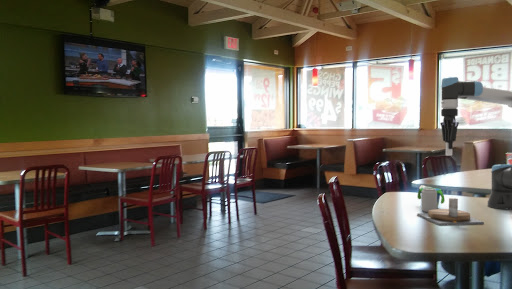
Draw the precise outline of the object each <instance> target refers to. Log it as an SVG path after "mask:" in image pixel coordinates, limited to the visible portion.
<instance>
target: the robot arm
mask: <svg viewBox="0 0 512 289" xmlns="http://www.w3.org/2000/svg"><path fill="white" fill-rule="evenodd" d="M440 87H441V101H440V103H441V105H440V106H441V111H440V112H441V114H440V115H441V117H443V120H442V122H440V123H439V124H440V126H441V136H442V141H443V142H444V143H445V156H447V157H448V156H453V145H454V144H453V143H454V142H456V141H457V134H458V126H459V124H460V122H458V121H456V120H457V119H456V117H458V116H459V110H458V107H459V99H460V100H468V101H474V102H475V101H476V102H482V103H492V104H496V105H497V104H498V105H505V106H507V107H509V108H512V90H505V89H499V88H492V87H484V86H483V83H482V81H476V80H469V81H467V80H465V81H461V80H459V77H457V76H447V77H443V78H442V80H441V86H440ZM490 192H491V193H490V195H489V197H488V200H487V207H489V208H494V209H499V210H500V209H501V210H512V163H511V164H494V165H492V166H491V191H490Z"/></svg>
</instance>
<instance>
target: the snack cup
mask: <svg viewBox="0 0 512 289" xmlns="http://www.w3.org/2000/svg"><path fill="white" fill-rule="evenodd" d="M427 187H428V186H426V188H427ZM433 188H434V189H436V191H437V208H439V204H444V203H445V202H446V201H445V195H444V193H443V191H442V189H441V188H437V187H433ZM422 190H423V188H421V189H419V190H418V191H417V200H421V196H422ZM440 198H441V200H440Z"/></svg>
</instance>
